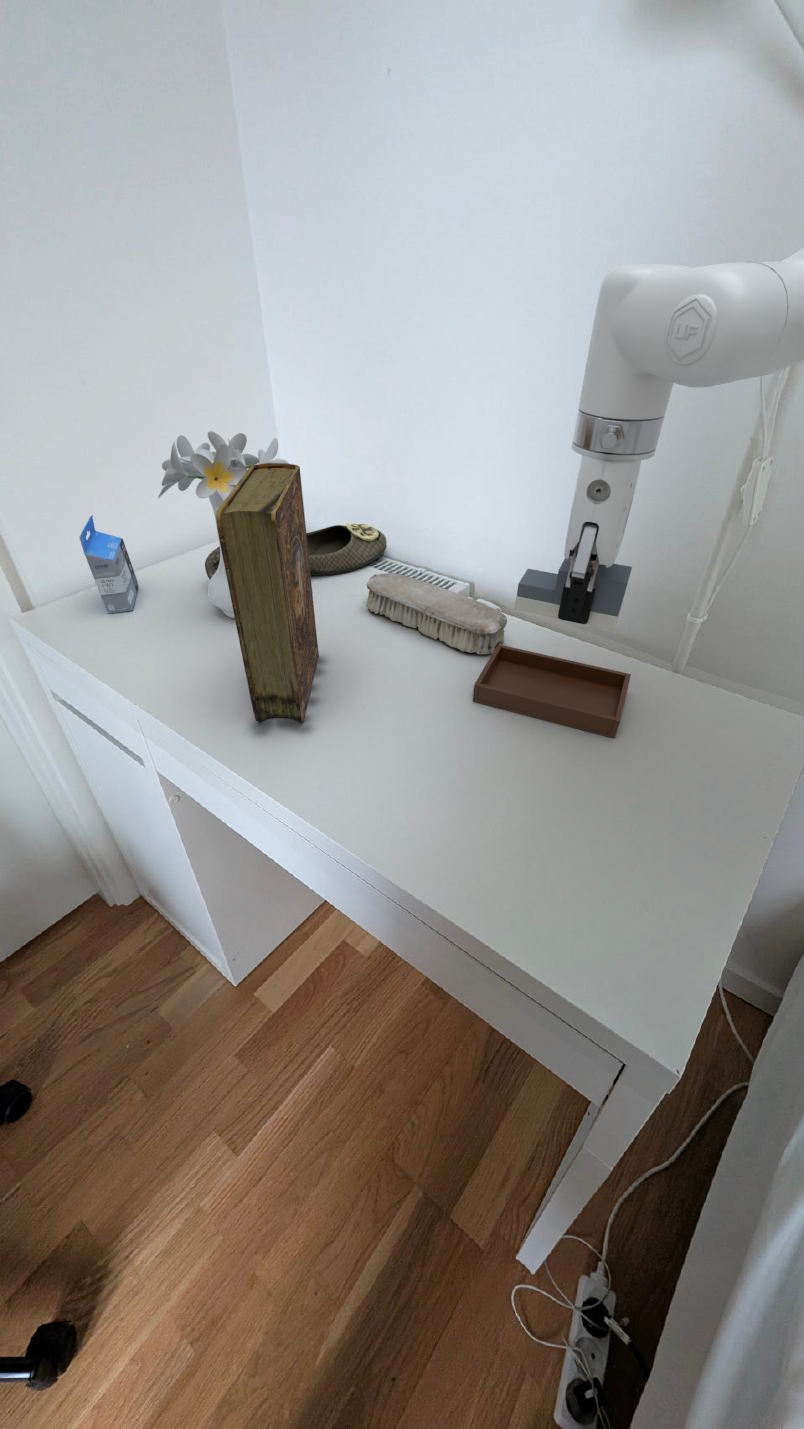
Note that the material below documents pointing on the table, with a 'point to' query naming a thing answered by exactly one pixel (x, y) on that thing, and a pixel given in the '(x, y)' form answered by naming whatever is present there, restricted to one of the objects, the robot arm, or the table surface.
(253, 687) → the book
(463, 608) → the shoe brush
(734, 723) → the table surface
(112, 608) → the label tape box
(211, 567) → the flat
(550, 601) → the grey stepped block
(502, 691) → the tray
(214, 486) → the flower vase
